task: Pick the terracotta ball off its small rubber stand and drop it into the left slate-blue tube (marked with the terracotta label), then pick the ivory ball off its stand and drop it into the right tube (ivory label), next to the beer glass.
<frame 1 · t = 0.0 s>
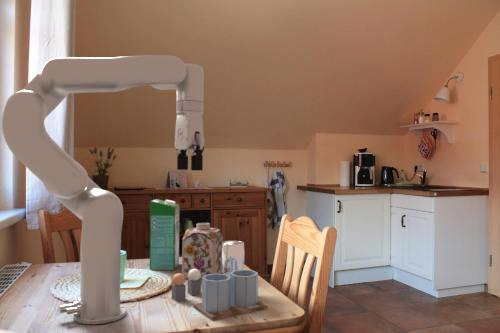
hand: (189, 170, 119), 37 cm above the table, tool pointing down, fingers open, 9 cm apart
rack board: (230, 308, 113), on the table
terracotta ball: (178, 286, 120), point 4 cm above the table, touching stand A
ivory ball: (194, 280, 125), point 4 cm above the table, touching stand B
milk carton: (164, 267, 157), on the table
stand B: (194, 293, 125), on the table
decorative jar: (202, 276, 146), on the table
stand A: (178, 298, 120), on the table
tubes: (230, 308, 113), resting on rack board
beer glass: (232, 293, 127), on the table
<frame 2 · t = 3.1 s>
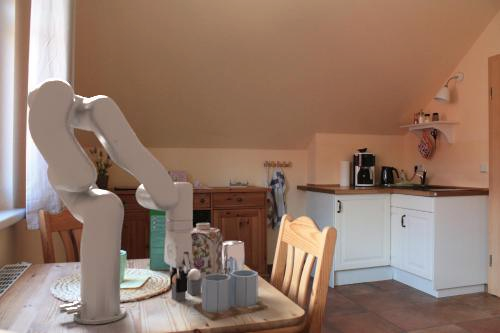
hand: (178, 289, 120), 3 cm above the table, tool pointing down, fingers closed on terracotta ball, 3 cm apart
terracotta ball: (178, 286, 120), point 4 cm above the table, touching gripper, stand A
everything else where it was.
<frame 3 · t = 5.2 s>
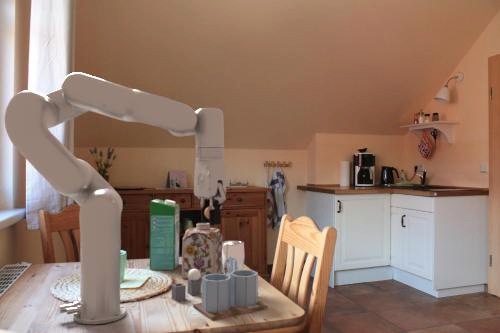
hand: (211, 222, 113), 23 cm above the table, tool pointing down, fingers closed on terracotta ball, 3 cm apart
terracotta ball: (211, 219, 113), point 24 cm above the table, touching gripper
everything else where it was.
when the fingers open (9 cm above the table, at t = 7.7 s): terracotta ball drops 9 cm, resting on rack board.
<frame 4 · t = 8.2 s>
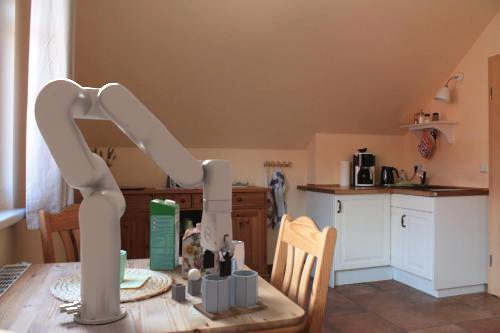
hand: (216, 271, 111), 10 cm above the table, tool pointing down, fingers open, 9 cm apart
terracotta ball: (216, 307, 111), point 1 cm above the table, touching rack board
everything else where it was.
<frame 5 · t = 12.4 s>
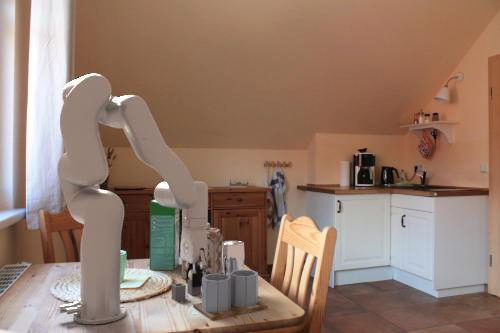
hand: (194, 284, 125), 3 cm above the table, tool pointing down, fingers closed on ivory ball, 3 cm apart
ivory ball: (194, 280, 125), point 4 cm above the table, touching gripper, stand B
everything else where it was.
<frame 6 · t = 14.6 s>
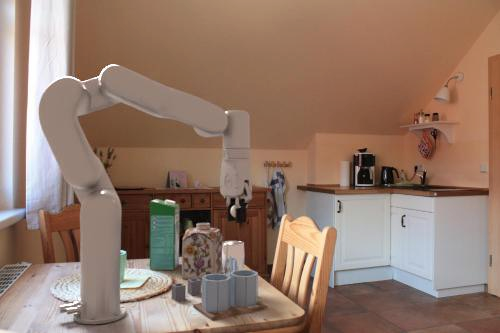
hand: (236, 220, 117), 23 cm above the table, tool pointing down, fingers closed on ivory ball, 3 cm apart
ivory ball: (237, 217, 117), point 24 cm above the table, touching gripper
everything else where it was.
when the fingers open (9 cm above the table, at t = 17.1 s): ivory ball drops 9 cm, resting on rack board.
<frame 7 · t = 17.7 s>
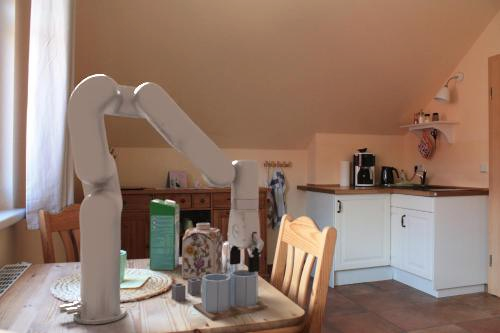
hand: (244, 267, 115), 10 cm above the table, tool pointing down, fingers open, 9 cm apart
ivory ball: (244, 302, 115), point 1 cm above the table, touching rack board
everything else where it was.
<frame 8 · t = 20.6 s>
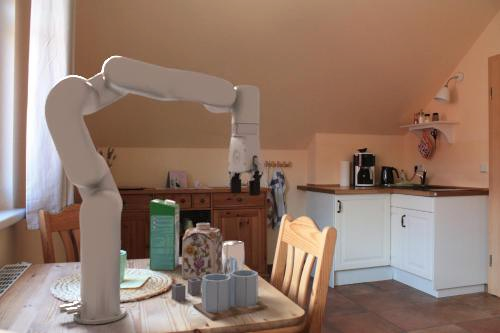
hand: (244, 194, 115), 30 cm above the table, tool pointing down, fingers open, 9 cm apart
nothing on the table moved.
at the end: terracotta ball 0.1 cm from the target spot on the tubes, point 0.8 cm above the tubes's base; ivory ball 0.1 cm from the target spot on the tubes, point 0.8 cm above the tubes's base; the gripper is holding nothing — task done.
